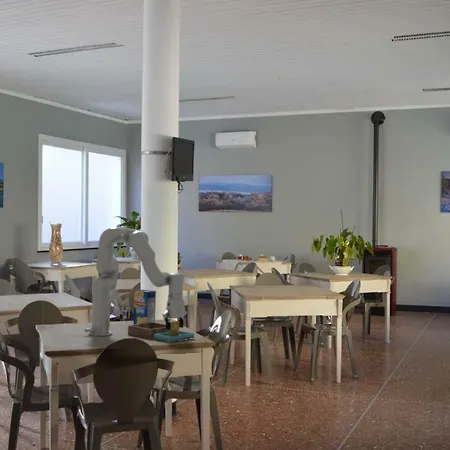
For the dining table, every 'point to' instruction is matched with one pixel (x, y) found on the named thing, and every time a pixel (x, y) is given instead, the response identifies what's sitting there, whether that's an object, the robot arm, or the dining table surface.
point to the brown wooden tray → (147, 329)
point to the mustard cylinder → (174, 328)
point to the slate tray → (167, 337)
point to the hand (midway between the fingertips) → (174, 328)
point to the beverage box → (144, 306)
